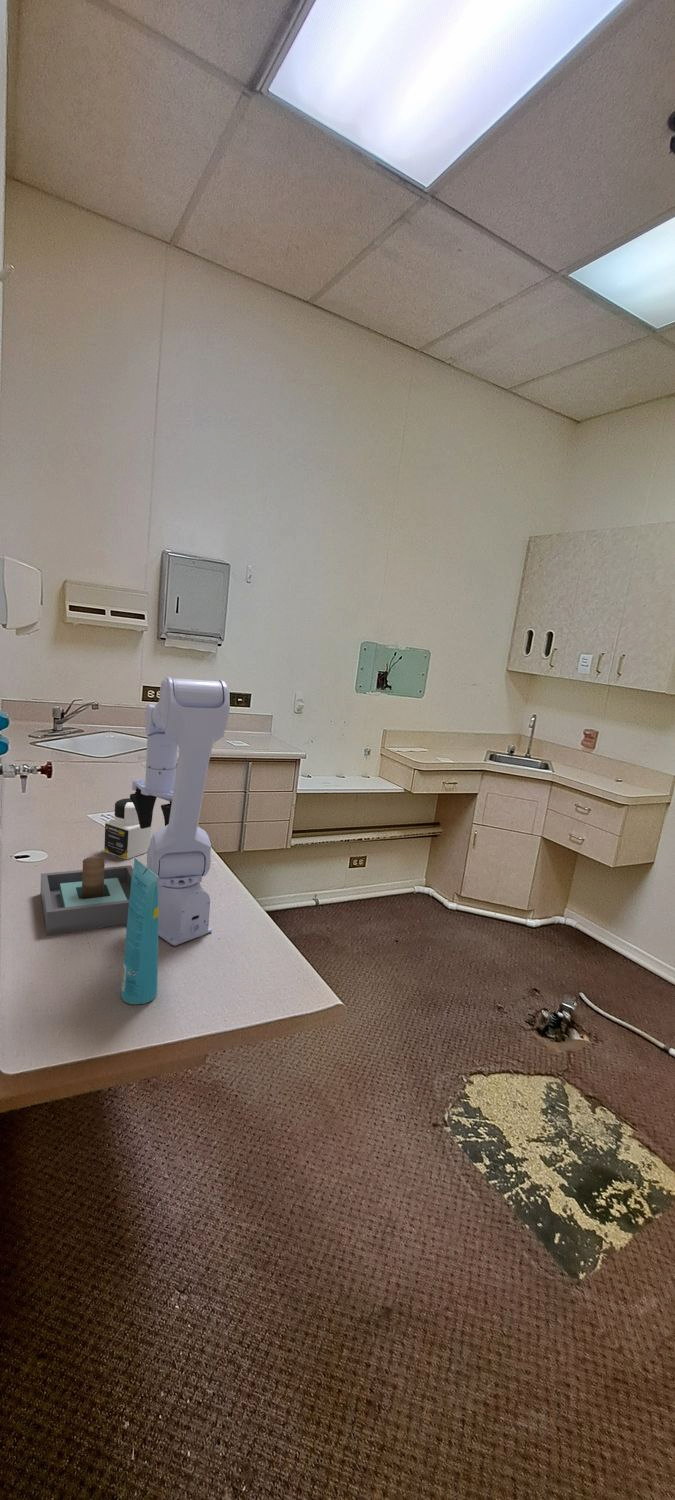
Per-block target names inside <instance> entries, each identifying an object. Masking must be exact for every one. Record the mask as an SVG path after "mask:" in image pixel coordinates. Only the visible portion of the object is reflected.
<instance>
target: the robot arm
mask: <svg viewBox="0 0 675 1500" xmlns="http://www.w3.org/2000/svg"><path fill="white" fill-rule="evenodd" d="M230 697H231V696H230V689H229V686H228V684H227V683H226V682H225V680H223V679H221V680H205V679H191V678H176V677H174V678H172V677H170V676H165V677H164V679H163V680H162V681H161V683H160V688H159V699H158V700H159V701H157V703H156V704H155V705H154V704H151V703H148V704H147V705H146V708H145V712H144V728H145V733H146V735H147V736H146V737H147V740H146V761H145V776H144V777H145V780H143V779H136V780H132V784H131V790H132V791H135V792H134V793H131V794H129V798H130V799H131V801H132V802H133V804H134V806H135V809H136V812H137V816H138V820H139V825H140V828H141V829H144V828H148V827H151V828H152V824H151V823H152V822H153V814H154V812H153V811H154V808H155V805H156V801H157V798H159V799H161V800H164V801H168V802H169V803H165V804H161V805H160V809H161V812H162V814H163V815H162V816H163V820H164V826H163V827H162V828H160V829H158V830H157V831H155V832H154V833H153V834H151V841H150V845H149V847H148V850H147V853H146V867H147V868H148V869H149V870H151V871H152V872H153V873H154V874H156V875H157V876H158V877H159V879H158V937H160V938H161V939H163V941H166V942H167V943H169V945H172V946H178V945H182V944H184V943H185V942H188V941H191V940H194V939H196V938H199V937H202V936H204V935H206V934H207V935H208V934H209V933H211V932H213V929H212V927H210V926H209V922H210V908H211V898H210V895H209V894H208V892H207V891H205V890H204V888H203V887H202V885H201V883H202V881H203V877H206V876H207V875H208V873H209V872H210V869H211V863H212V860H211V859H212V856H211V850H212V844H211V841H210V837H209V835H208V833H207V831H206V830H204V829H203V828H201V827H200V826H199V821H200V815H201V809H202V803H203V799H204V792H205V786H206V781H207V775H208V769H209V763H210V759H211V754H212V751H213V746H214V743H216V742H218V741H219V740H221V739H223V738H225V737H224V736H225V733H226V732H225V731H226V729H227V726H228V725H227V724H228V720H229V715H230V714H229V713H230V708H231V707H230V706H231V704H230V703H231V702H230V701H231V700H230Z"/></svg>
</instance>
